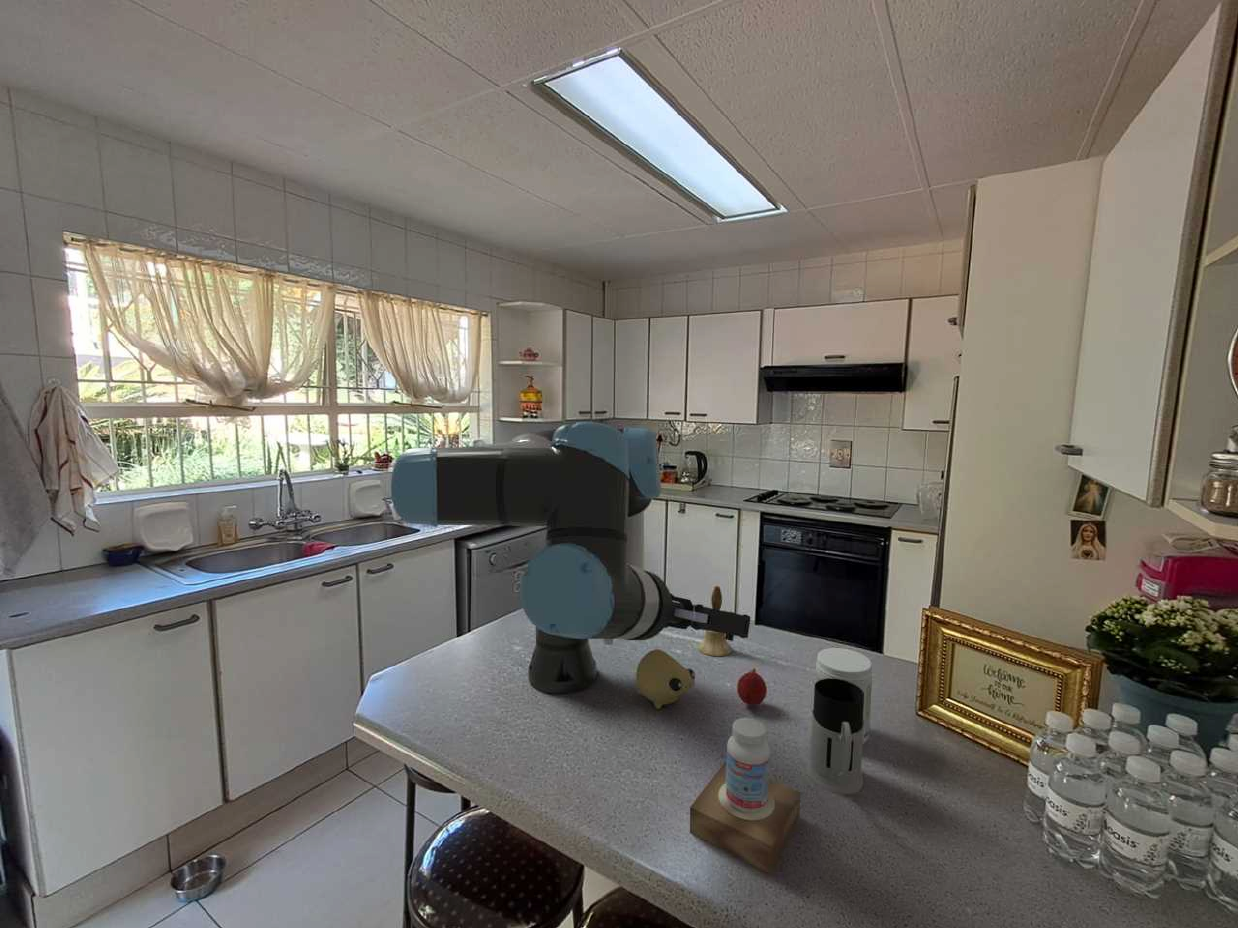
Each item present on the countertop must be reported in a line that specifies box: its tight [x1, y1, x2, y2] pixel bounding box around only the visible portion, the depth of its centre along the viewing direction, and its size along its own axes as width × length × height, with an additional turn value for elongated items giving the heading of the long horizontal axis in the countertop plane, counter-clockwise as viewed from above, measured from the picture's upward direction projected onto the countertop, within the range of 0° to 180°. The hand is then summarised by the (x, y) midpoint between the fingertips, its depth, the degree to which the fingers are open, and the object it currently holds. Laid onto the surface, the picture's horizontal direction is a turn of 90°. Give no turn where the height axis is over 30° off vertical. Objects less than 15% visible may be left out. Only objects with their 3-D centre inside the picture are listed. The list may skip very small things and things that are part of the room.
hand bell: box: [697, 585, 733, 657], centre depth 135 cm, size 8×8×16 cm
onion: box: [736, 667, 768, 708], centre depth 110 cm, size 6×6×8 cm
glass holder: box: [806, 678, 864, 795], centre depth 87 cm, size 9×14×15 cm, turn 167°
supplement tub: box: [815, 647, 873, 745], centre depth 101 cm, size 10×10×15 cm
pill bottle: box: [726, 717, 771, 813], centre depth 79 cm, size 6×6×11 cm
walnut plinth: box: [689, 761, 801, 875], centre depth 80 cm, size 12×12×4 cm
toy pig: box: [635, 648, 696, 710], centre depth 111 cm, size 10×12×11 cm
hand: (687, 613), depth 76 cm, fingers open, 13 cm apart
